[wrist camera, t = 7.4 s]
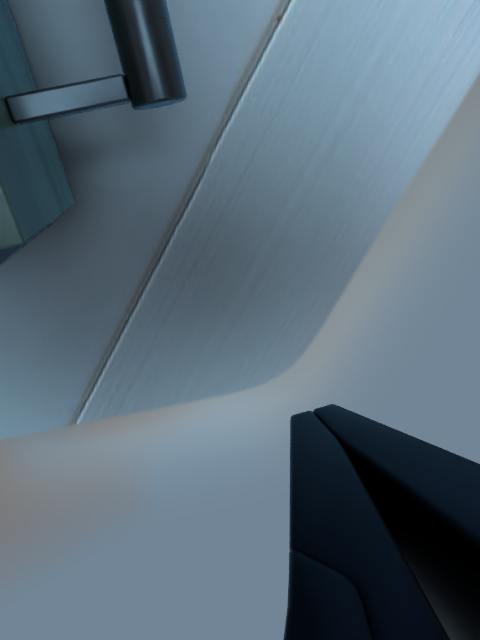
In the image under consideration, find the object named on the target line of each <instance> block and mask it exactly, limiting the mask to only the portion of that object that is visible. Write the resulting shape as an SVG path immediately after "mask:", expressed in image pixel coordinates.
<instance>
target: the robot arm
mask: <svg viewBox="0 0 480 640" xmlns="http://www.w3.org/2000/svg"><path fill="white" fill-rule="evenodd" d="M290 422H291V423H290V553H289V588H288V608H287V616H286V625H285V633H284V640H480V464H478V463H476V462H473V461H471V460H468V459H466V458H464V457H461V456H459V455H456V454H453V453H451V452H449V451H447V450H444V449H442V448H439V447H437V446H434V445H432V444H429V443H427V442H425V441H422V440H420V439H417V438H415V437H412V436H410V435H407V434H405V433H403V432H400V431H398V430H395V429H393V428H391V427H388V426H386V425H383V424H381V423H378V422H376V421H374V420H371V419H369V418H366V417H364V416H361V415H359V414H357V413H354V412H352V411H349V410H347V409H344V408H342V407H340V406H337V405H334V404H331V405H327V406H324V407H320V408H317V409H315V410H314V411H313V412H312V411H307V412H303V413H299V414H296V415H293V416H292V417H291V420H290Z"/></svg>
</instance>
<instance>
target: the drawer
mask: <svg viewBox="0 0 480 640" xmlns="http://www.w3.org/2000/svg"><path fill="white" fill-rule="evenodd" d="M104 3H105V7H106V11H107V15H108V18H109V22H110V26H111V30H112V33H113V37H114V41H115V45H116V48H117V52H118V56H119V60H120V63H121V67H122V71H123V74H117V75H112V76H107V77H102V78H96V79H91V80H86V81H81V82H76V83H71V84H66V85H61V86H55V87H50V88H45V89H40V90H37V88H36V85H35V82H34V79H33V76H32V73H31V70H30V67H29V64H28V62H27V59H26V56H25V53H24V50H23V47H22V44H21V41H20V38H19V35H18V32H17V29H16V26H15V23H14V20H13V17H12V14H11V11H10V8H9V5H8V2H7V0H0V249H5V248H9V247H13V246H17V245H22V244H24V243H25V242H26V241H28V240H29V239H30V238H32V237H33V236H34V235H35V234H37V233H38V232H39V231H41V230H42V229H43V228H44V227H46V226H47V225H48V224H50V223H51V222H52V221H53V220H55V219H56V218H57V217H58V216H60V215H61V214H62V213H64V212H65V211H66V210H67V209H69V208H70V207H71V206H73V205H74V204H75V201H74V198H73V195H72V192H71V189H70V186H69V183H68V180H67V177H66V174H65V171H64V168H63V165H62V162H61V159H60V156H59V153H58V151H57V148H56V145H55V142H54V139H53V136H52V133H51V130H50V127H49V124H48V121H47V120H48V119H53V118H58V117H63V116H68V115H72V114H77V113H82V112H87V111H92V110H97V109H102V108H107V107H112V106H117V105H122V104H127V103H129V102H130V101H131V105H132V108H133V109H134V110H146V109H152V108H157V107H162V106H167V105H171V104H175V103H178V102H181V101H183V100H185V99H186V98H187V94H186V90H185V85H184V81H183V76H182V72H181V67H180V63H179V58H178V53H177V49H176V44H175V40H174V35H173V31H172V26H171V22H170V17H169V13H168V8H167V4H166V0H104ZM123 75H124V76H123Z"/></svg>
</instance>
